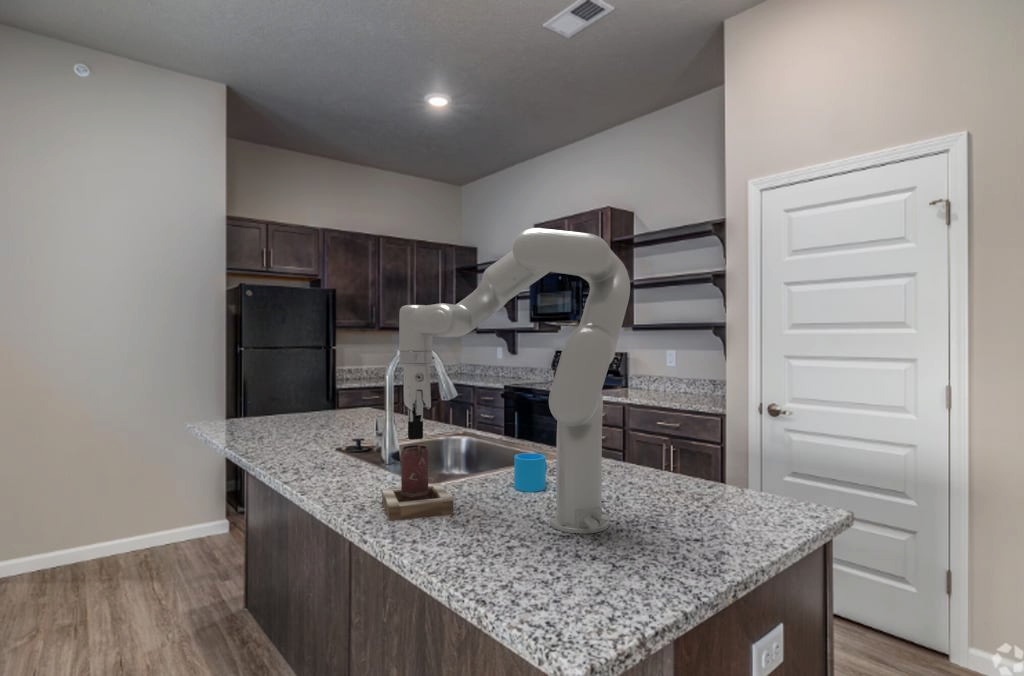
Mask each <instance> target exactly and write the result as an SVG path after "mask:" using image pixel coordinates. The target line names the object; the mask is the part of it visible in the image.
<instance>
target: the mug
mask: <svg viewBox="0 0 1024 676" xmlns="http://www.w3.org/2000/svg"><path fill="white" fill-rule="evenodd" d="M546 457H547V456H546V455H545V454H541V453H536V452H533V453H532V452H527V453H526V452H524V453H518V454H517V453H516V454H515V455H514V457H513V458H514V459H513V461H514V469H513V470H514V472H513V473H514V477H513V478H514V479H513V481H514V483H513V484H514V486H513V487H514V489H515V490H517V491H518V492H519V491H520V492H525V493H526V492H527V493H528V492H529V493H535V492H541V491H545V489H546V484H547V483H546V482H547V481H546V475H547V469H548V465H547V463H548V462H547V461H546Z"/></svg>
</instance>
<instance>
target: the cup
mask: <svg viewBox="0 0 1024 676" xmlns="http://www.w3.org/2000/svg"><path fill="white" fill-rule="evenodd" d="M400 453H401V454H400V455H401V461H400V462H401V471H400V472H401V474H400V475H401V476H400V477H401V483H400V484H401V502H406V501H416V500H426V499H428V485H429V449H428V448H427V446H426V445H422V444H418V445H417V444H416V445H415V444H413V445H407V446H404V447H403V448H402V450H401V452H400Z"/></svg>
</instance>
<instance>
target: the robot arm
mask: <svg viewBox="0 0 1024 676" xmlns="http://www.w3.org/2000/svg"><path fill="white" fill-rule="evenodd" d="M549 273H557V274H565V275H570V276H571V275H572V276H578V277H580V278H582V279H583V280H584V281H586V282H587V283H588V285H589V293H588V296H587V299H586V301H585V303H584V304H585V305H584V308H583V313H582V316H581V318H580V321H579V325H578V327H577V328H576V329H574V330H573V331H572V332H571V333H570V334H569V335H568V337H567V338H566V340H565V342H564V345H563V347H562V351H561V353H560V357H559V361H558V364H557V367H556V371H555V374H554V378H553V380H552V383H551V388H550V391H549V396H548V406H549V407H548V408H549V410H550V413H551V415H552V416H553V418H554V419H555V420H556V421H557V422H556V423H557V424H556V512H554V513H552V514H551V515H550V516H549V518H548V519H549V521H548V522H549V525H550V527H552V528H554V529H556V530H558V531H560V532H563V533H567V532H568V534H574V533H576V534H577V533H579V534H577V535H588V534H590V533H591V534H597V533H600V532H603V531H606V530H607V529H608V528H609V527H610V519H609V517H608V516H607V515H605V514H603V513H602V512H603V507H602V505H603V504H602V503H603V499H602V498H603V497H602V496H603V494H602V493H603V491H602V490H603V488H602V487H603V485H602V482H603V481H602V479H603V478H602V477H603V475H602V473H603V472H602V471H603V470H602V468H603V466H602V464H603V461H602V457H603V456H602V453H603V450H602V449H603V448H602V446H603V445H602V444H603V440H602V439H603V436H602V435H603V415H604V414H603V413H604V412H603V411H604V398H603V393H602V390H603V387H604V384H605V380H606V377H607V373H608V370H609V367H610V365H611V363H612V362H613V360H614V358H615V357H616V356H615V355H616V350H617V343H618V340H619V337H620V334H621V330H622V326H623V323H624V318H625V315H626V312H627V309H628V308H627V307H628V305H629V300H630V295H631V294H630V293H631V281H630V276H629V272H628V269H627V268H626V266H625V264H624V263H623V261H622V260H621V259H620V258H619V257H618V255H616V254H615V252H614V251H613V250H612V249H611V247H610V246H609V244H608V243H607V241H605V240H604V239H603V238H602V237H600V236H598V235H596V234H593V233H588V232H582V231H581V232H579V231H569V230H562V229H551V228H543V227H531V228H526V229H525V230H523V231H521V232H520V233H519V234H518V235H517V236H516V237H515V238H514V241H513V244H512V249H511V251H509V252H507V254H505V255H504V256H502V257H501V258H500V259H498V260H497V261H495V262H494V263H492V264H491V265H489V267H487V268H485V270H484V272H483V273H482V277H481V281H480V282H479V285H478V286H477V287H476V288H475V289H474V290H473V292H470V293H469V294H468V295H467V296H466V297H465V298H462V299H461V300H460V301H459V302H458V303H456V304H452V303H445V302H444V303H443V302H441V303H435V304H427V305H425V304H407V305H406V304H405V305H402V306H401V307H400V309H399V315H398V316H399V317H398V318H399V319H398V320H399V321H398V322H399V324H398V325H399V326H398V327H399V328H398V329H399V330H398V332H399V334H398V335H399V337H398V341H399V344H398V345H399V347H398V348H399V349H398V353H399V354H398V362H399V363H398V366H403V404H404V406H405V407H406V408H407V412H408V415H407V417H408V421H407V438H408V439H409V440H414V441H415V440H422V439H424V421H423V420H424V408H425V409H426V410H430V409H431V407H432V396H431V374H430V366H433V337H437V338H438V337H439V338H459V337H463V336H465V335H467V334H470V332H471V331H473V330H474V329H477V328H478V327H479V326H480V325H482V324H483V323H485V322H486V321H488V320H489V319H490V318H492V317H493V316H494V315H495V314H496V313H497V312H498V311H499V310H500V309H502V308H503V307H504V306H505V305H506V304H507V303H508V302H509V301H510V300H512V299H513V298H514V297H516V296H518V295H519V294H520V293H522V292H523V291H524V290H526V289H527V288H529V287H530V286H532V285H533V284H534V283H536V282H537V281H539V280H540V279H542V278H543V277H545V276H546V275H548V274H549ZM576 534H575V535H576Z"/></svg>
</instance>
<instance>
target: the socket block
mask: <svg viewBox="0 0 1024 676" xmlns="http://www.w3.org/2000/svg"><path fill="white" fill-rule="evenodd" d="M381 494H382V495H381V497H382V498H381V499H382V500H381V502H382V506H383V508H384V511H385V514H386V517H387V519H388V521H391V522H393V521H402V520H411V519H422V518H430V517H441V516H450V515H452V516H453V515H454V498H453V497H452V496H451V495H450V494H449V493H448V491H447V490H446V489H445V488H444V486H443V485H442V484H441V483H433V484H428V499H426V500H416V501H406V502H401V487H391V488H382V489H381Z"/></svg>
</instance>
